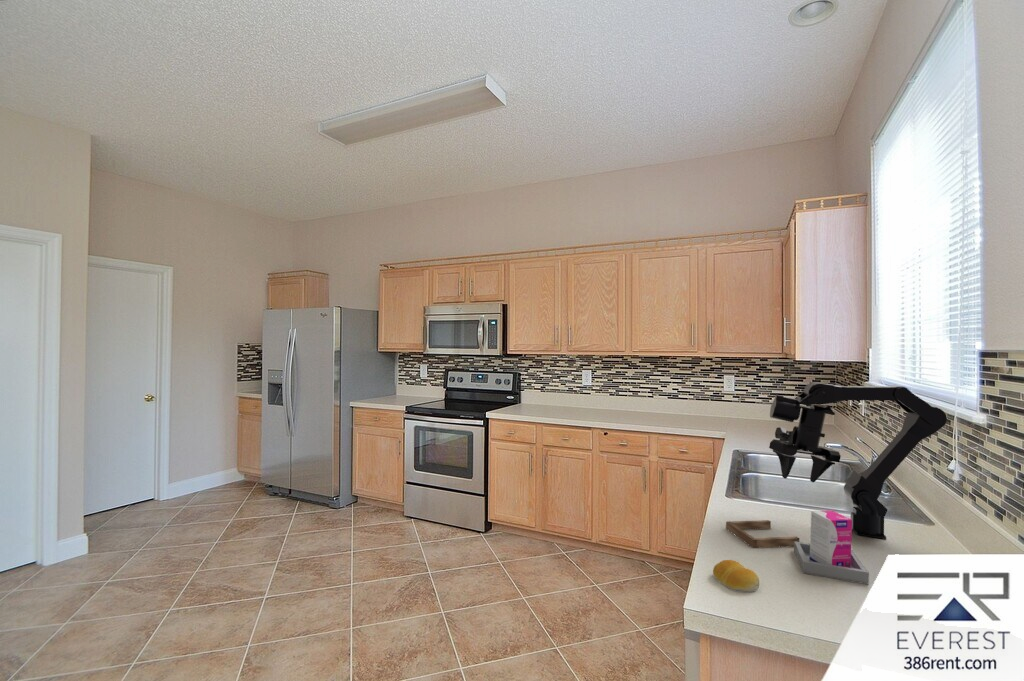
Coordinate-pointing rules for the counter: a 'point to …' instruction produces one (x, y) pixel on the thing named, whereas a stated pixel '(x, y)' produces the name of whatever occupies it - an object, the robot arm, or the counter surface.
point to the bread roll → (736, 576)
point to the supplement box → (830, 538)
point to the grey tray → (830, 566)
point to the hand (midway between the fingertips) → (798, 479)
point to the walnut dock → (738, 528)
